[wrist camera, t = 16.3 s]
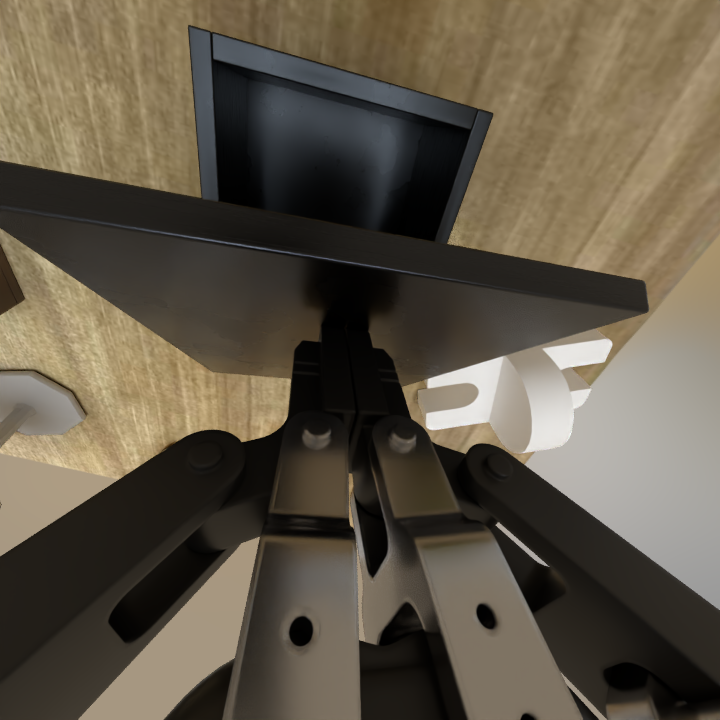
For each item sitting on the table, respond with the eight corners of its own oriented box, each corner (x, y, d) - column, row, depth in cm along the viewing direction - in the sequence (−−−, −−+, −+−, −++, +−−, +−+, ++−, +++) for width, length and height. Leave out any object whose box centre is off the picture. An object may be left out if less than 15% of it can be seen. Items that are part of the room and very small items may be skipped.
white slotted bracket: (418, 343, 33) (452, 418, 25) (590, 318, 33) (678, 384, 25) (417, 408, 38) (444, 485, 30) (563, 386, 39) (627, 457, 31)
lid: (-29, 152, 5) (-45, 200, 5) (647, 279, 7) (651, 312, 7) (213, 360, 20) (211, 372, 20) (400, 376, 23) (400, 387, 23)
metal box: (235, 57, 19) (187, 24, 12) (436, 113, 21) (494, 113, 14) (239, 299, 28) (214, 361, 21) (380, 317, 30) (399, 378, 23)
